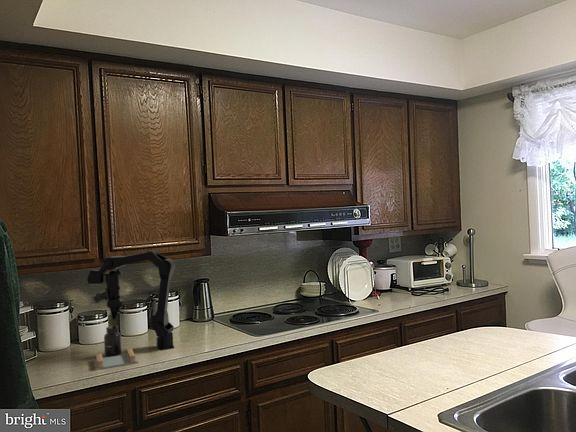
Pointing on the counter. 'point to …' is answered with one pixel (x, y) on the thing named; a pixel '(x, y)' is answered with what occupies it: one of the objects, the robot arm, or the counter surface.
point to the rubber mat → (115, 361)
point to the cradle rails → (128, 350)
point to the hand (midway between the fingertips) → (113, 319)
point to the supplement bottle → (112, 342)
